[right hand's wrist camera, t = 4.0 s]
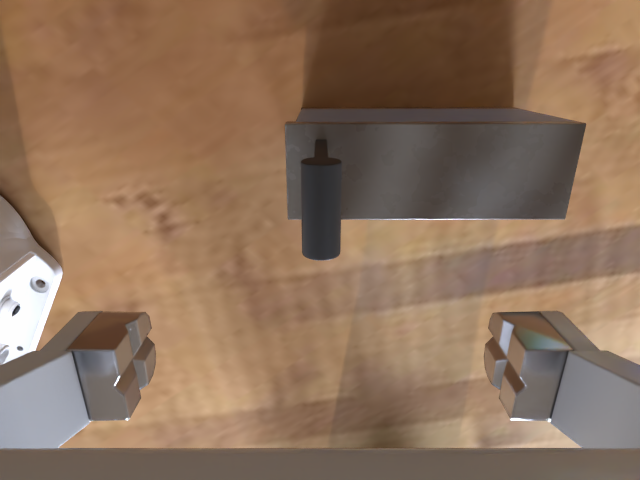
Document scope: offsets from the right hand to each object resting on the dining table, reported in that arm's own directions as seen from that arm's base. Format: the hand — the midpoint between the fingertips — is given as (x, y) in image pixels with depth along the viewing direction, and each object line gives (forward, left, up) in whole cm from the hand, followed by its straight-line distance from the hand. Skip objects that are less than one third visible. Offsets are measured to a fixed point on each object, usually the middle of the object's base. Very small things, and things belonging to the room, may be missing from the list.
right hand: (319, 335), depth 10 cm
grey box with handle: (+2, -6, -18) cm, 19 cm away
